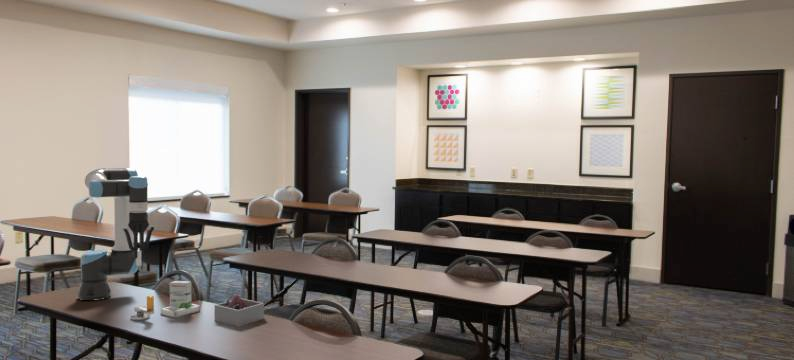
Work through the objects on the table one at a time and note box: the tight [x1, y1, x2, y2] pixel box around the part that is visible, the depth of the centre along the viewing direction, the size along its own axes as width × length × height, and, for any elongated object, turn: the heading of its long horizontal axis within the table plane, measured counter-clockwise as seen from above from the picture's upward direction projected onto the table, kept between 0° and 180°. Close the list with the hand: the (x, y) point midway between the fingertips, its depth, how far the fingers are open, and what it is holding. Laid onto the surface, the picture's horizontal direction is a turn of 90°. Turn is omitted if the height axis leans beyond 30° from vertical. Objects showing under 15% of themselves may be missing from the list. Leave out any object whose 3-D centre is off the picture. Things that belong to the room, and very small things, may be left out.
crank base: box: [130, 312, 151, 321], centre depth 274 cm, size 8×8×3 cm
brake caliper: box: [223, 294, 246, 310], centre depth 275 cm, size 11×11×12 cm
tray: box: [160, 303, 201, 319], centre depth 283 cm, size 10×14×2 cm
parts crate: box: [214, 297, 265, 328], centre depth 274 cm, size 15×15×7 cm
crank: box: [133, 295, 155, 316], centre depth 271 cm, size 12×5×8 cm, turn 53°
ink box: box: [169, 280, 193, 309], centre depth 283 cm, size 9×5×12 cm, turn 84°
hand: (138, 265), depth 270 cm, fingers closed
